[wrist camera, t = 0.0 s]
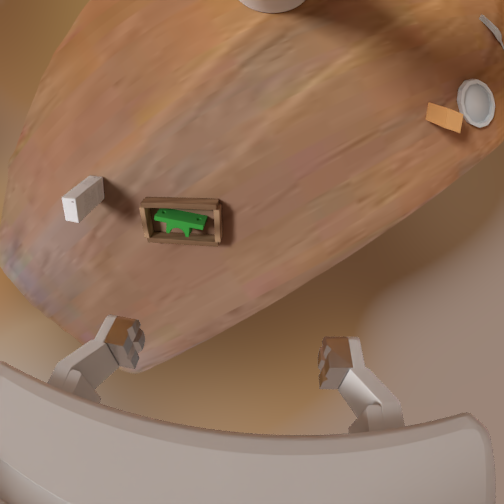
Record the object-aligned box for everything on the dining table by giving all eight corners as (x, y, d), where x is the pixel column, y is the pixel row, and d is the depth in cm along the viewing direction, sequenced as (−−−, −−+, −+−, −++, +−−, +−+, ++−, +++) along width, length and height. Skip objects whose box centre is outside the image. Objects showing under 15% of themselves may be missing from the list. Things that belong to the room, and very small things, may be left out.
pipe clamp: (160, 220, 65) (153, 230, 61) (161, 206, 63) (154, 215, 59) (206, 229, 66) (201, 240, 62) (207, 215, 63) (203, 225, 60)
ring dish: (459, 72, 37) (463, 72, 36) (493, 88, 37) (497, 89, 35) (454, 117, 44) (458, 119, 42) (486, 130, 43) (490, 132, 42)
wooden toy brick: (428, 102, 43) (447, 108, 37) (443, 107, 43) (463, 114, 36) (425, 119, 45) (444, 128, 39) (440, 124, 45) (460, 133, 39)
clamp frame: (143, 197, 61) (138, 202, 59) (221, 199, 61) (219, 205, 58) (150, 235, 67) (145, 242, 65) (222, 239, 67) (220, 246, 64)
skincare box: (89, 175, 59) (60, 196, 49) (103, 176, 59) (75, 198, 49) (91, 197, 62) (65, 221, 52) (105, 199, 62) (79, 223, 53)
